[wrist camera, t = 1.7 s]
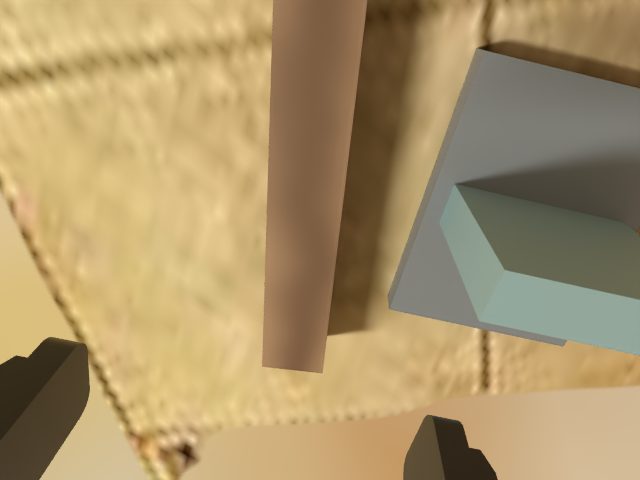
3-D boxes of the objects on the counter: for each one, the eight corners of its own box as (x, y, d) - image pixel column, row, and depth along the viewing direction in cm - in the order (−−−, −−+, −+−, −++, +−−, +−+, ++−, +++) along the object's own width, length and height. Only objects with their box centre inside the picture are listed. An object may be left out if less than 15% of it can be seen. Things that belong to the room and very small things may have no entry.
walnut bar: (272, 327, 32) (262, 366, 29) (290, -116, 20) (277, -141, 16) (325, 333, 32) (322, 373, 29) (377, -107, 20) (383, -132, 16)
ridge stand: (387, 295, 30) (404, 425, 21) (476, 48, 22) (565, 78, 13) (554, 331, 30) (642, 473, 21) (696, 101, 23) (929, 167, 14)
